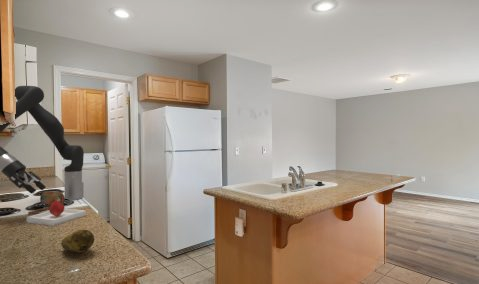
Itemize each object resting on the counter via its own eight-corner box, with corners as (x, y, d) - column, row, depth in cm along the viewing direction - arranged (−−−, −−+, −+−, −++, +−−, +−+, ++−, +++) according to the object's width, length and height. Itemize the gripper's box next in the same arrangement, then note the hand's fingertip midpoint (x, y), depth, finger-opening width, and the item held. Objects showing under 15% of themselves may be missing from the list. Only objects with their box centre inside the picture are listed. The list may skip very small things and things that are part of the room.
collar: (49, 209, 138) (49, 206, 138) (64, 211, 135) (64, 208, 135) (28, 214, 128) (28, 211, 128) (43, 216, 125) (43, 213, 125)
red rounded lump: (46, 217, 120) (46, 200, 120) (60, 214, 126) (59, 197, 125) (54, 219, 118) (53, 201, 118) (67, 215, 123) (66, 198, 123)
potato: (89, 243, 92) (88, 221, 92) (96, 256, 82) (96, 230, 82) (60, 250, 87) (60, 225, 87) (64, 264, 77) (64, 237, 77)
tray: (61, 213, 131) (61, 208, 131) (85, 215, 127) (85, 210, 127) (26, 222, 116) (26, 216, 116) (53, 226, 111) (53, 220, 111)
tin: (39, 205, 146) (39, 190, 146) (45, 204, 149) (45, 189, 149) (60, 207, 142) (60, 192, 142) (65, 206, 145) (65, 191, 145)
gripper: (6, 161, 111) (37, 187, 113) (25, 158, 125) (53, 181, 127) (-9, 174, 110) (23, 199, 112) (12, 170, 124) (40, 193, 126)
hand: (39, 190), depth 120 cm, fingers open, 8 cm apart
